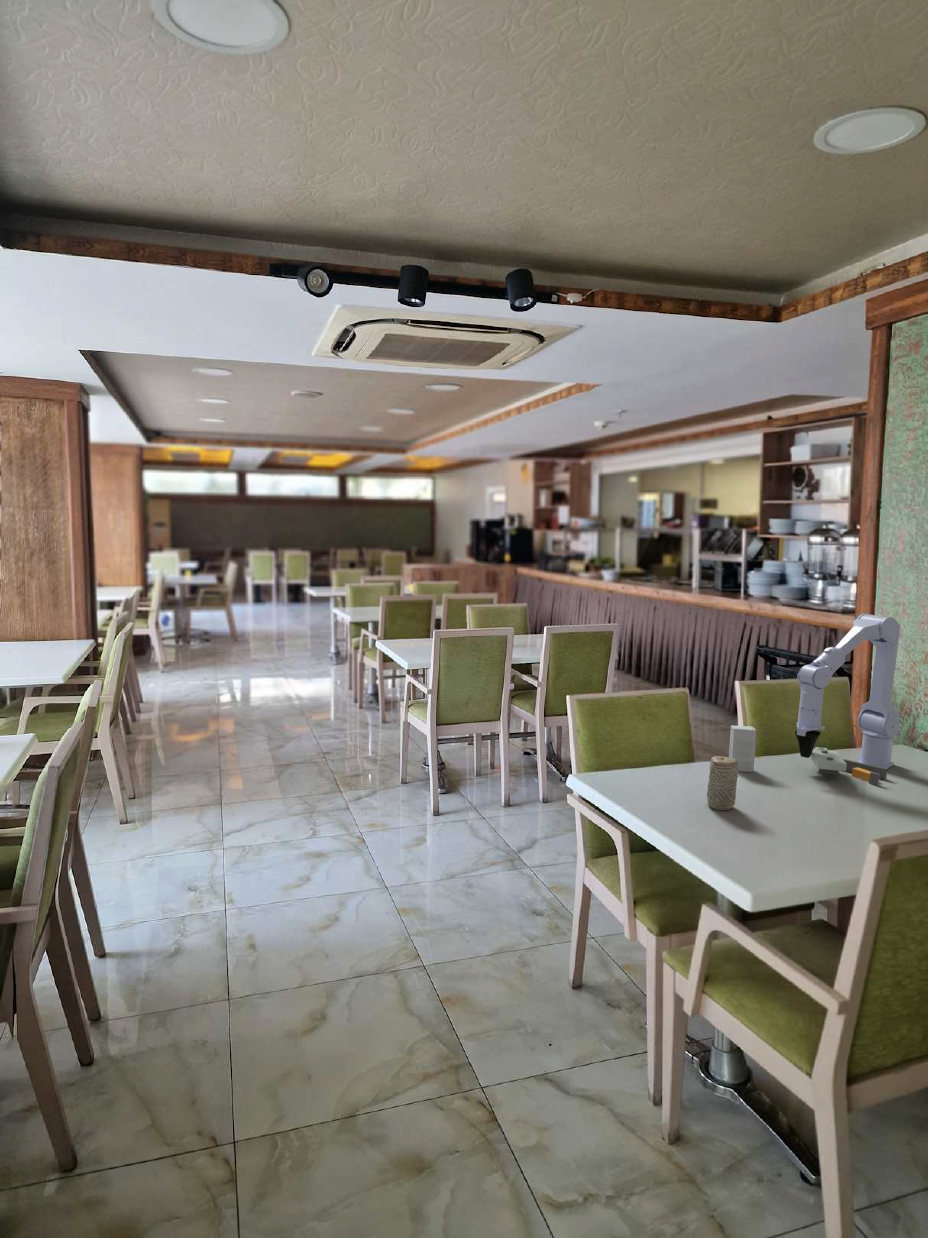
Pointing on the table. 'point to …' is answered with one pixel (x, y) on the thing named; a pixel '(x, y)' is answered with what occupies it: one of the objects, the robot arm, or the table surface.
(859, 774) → the orange cuboid brick
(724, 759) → the carving
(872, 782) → the long grey beam
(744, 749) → the skincare box
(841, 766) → the cover
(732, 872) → the table surface
